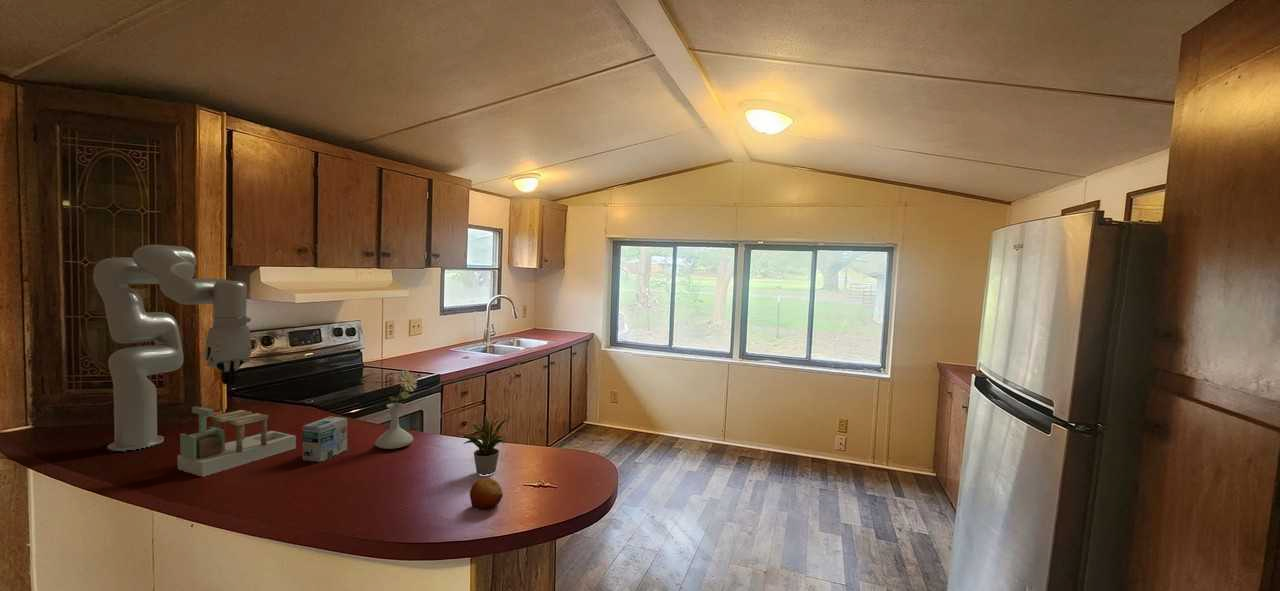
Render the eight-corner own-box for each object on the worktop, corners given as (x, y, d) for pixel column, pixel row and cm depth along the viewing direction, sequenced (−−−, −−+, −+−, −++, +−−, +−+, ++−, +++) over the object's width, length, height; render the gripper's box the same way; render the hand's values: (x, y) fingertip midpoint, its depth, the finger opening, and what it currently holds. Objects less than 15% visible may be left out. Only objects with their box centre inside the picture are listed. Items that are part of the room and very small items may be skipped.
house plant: (493, 458, 154) (494, 407, 153) (523, 469, 146) (524, 415, 145) (452, 472, 142) (453, 417, 141) (482, 485, 134) (483, 426, 133)
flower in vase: (388, 454, 154) (389, 376, 153) (367, 447, 160) (368, 372, 159) (425, 443, 166) (425, 370, 165) (404, 436, 171) (404, 366, 170)
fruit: (466, 494, 125) (483, 468, 125) (493, 509, 126) (509, 483, 126) (457, 509, 117) (475, 481, 117) (485, 525, 118) (503, 497, 118)
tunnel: (211, 445, 147) (211, 416, 146) (242, 438, 154) (241, 409, 154) (238, 452, 142) (238, 422, 142) (268, 444, 149) (268, 415, 149)
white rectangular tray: (177, 469, 139) (177, 455, 139) (271, 442, 162) (271, 430, 162) (202, 477, 134) (202, 462, 134) (295, 448, 158) (295, 435, 157)
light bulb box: (320, 462, 147) (320, 427, 146) (301, 460, 148) (301, 425, 147) (348, 450, 157) (348, 417, 157) (330, 448, 158) (330, 415, 158)
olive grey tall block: (178, 455, 137) (178, 409, 137) (210, 447, 144) (209, 403, 144) (195, 460, 134) (195, 413, 134) (226, 451, 141) (226, 407, 141)
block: (189, 456, 139) (189, 438, 138) (210, 450, 143) (210, 433, 143) (200, 459, 137) (200, 441, 136) (221, 453, 141) (220, 436, 141)
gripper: (250, 319, 153) (249, 377, 154) (191, 323, 139) (190, 387, 140) (265, 321, 150) (264, 380, 151) (207, 325, 136) (206, 390, 137)
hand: (228, 383), depth 145 cm, fingers closed
